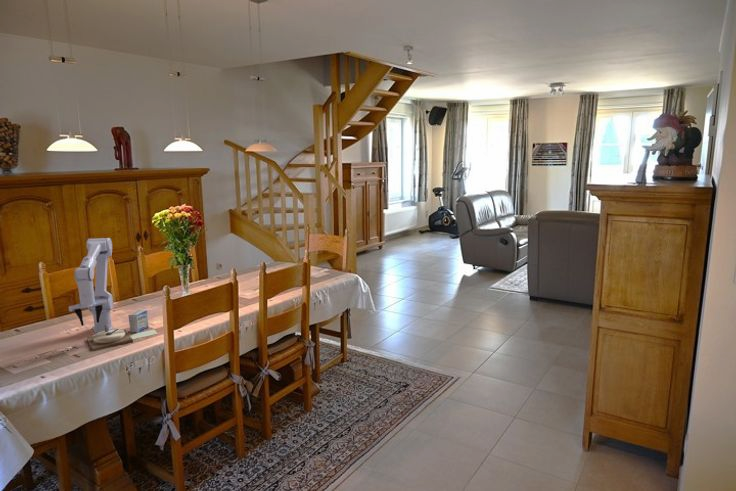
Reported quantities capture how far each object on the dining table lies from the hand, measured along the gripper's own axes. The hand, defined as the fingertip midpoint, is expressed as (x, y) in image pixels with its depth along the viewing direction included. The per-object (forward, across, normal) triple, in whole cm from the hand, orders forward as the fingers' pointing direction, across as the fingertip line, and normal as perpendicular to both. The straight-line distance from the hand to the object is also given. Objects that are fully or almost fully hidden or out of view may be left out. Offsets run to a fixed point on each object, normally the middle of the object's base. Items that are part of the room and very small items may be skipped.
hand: (90, 323), depth 219 cm
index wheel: (+7, +6, -4) cm, 10 cm away
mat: (+8, +20, -5) cm, 23 cm away
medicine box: (+8, +20, +2) cm, 22 cm away
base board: (+8, +6, -4) cm, 11 cm away
